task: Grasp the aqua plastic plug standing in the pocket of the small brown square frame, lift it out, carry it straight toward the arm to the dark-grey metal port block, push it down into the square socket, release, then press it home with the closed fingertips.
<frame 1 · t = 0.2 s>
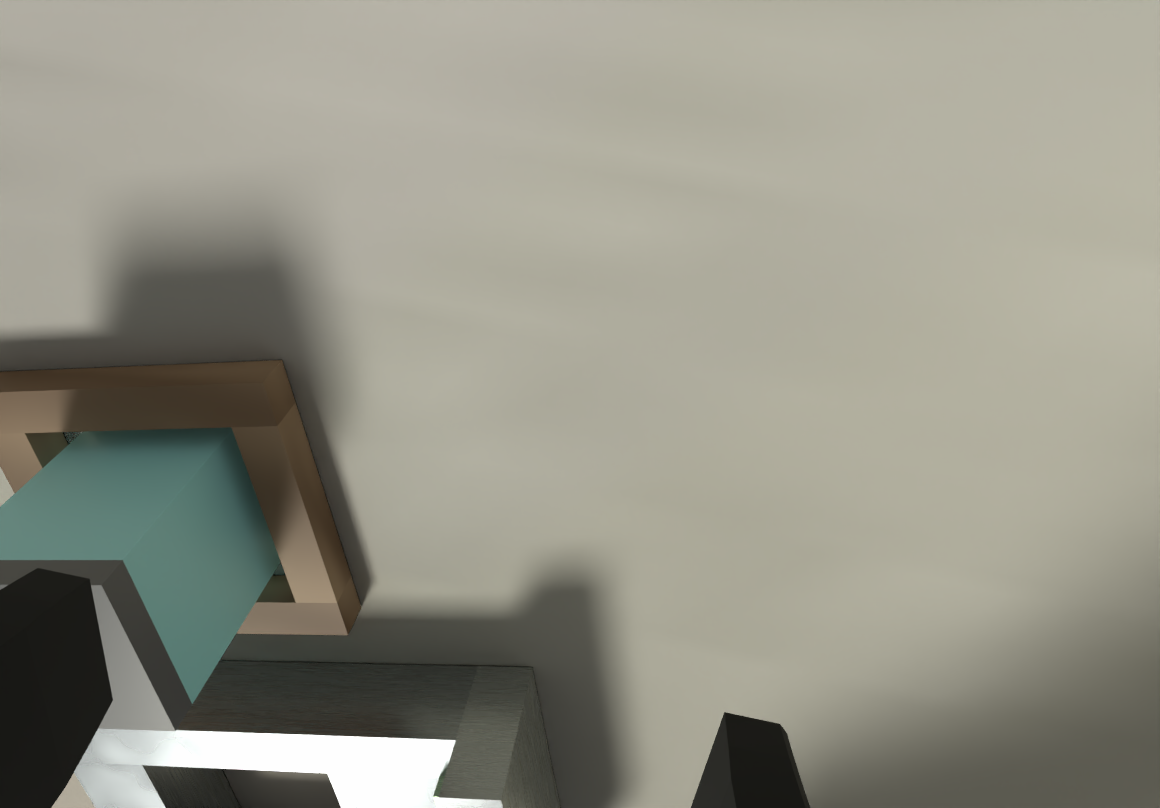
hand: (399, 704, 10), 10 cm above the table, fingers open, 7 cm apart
port: (342, 761, 28), on the table
plug: (126, 567, 20), in the brown square frame
brown square frame: (186, 496, 23), on the table
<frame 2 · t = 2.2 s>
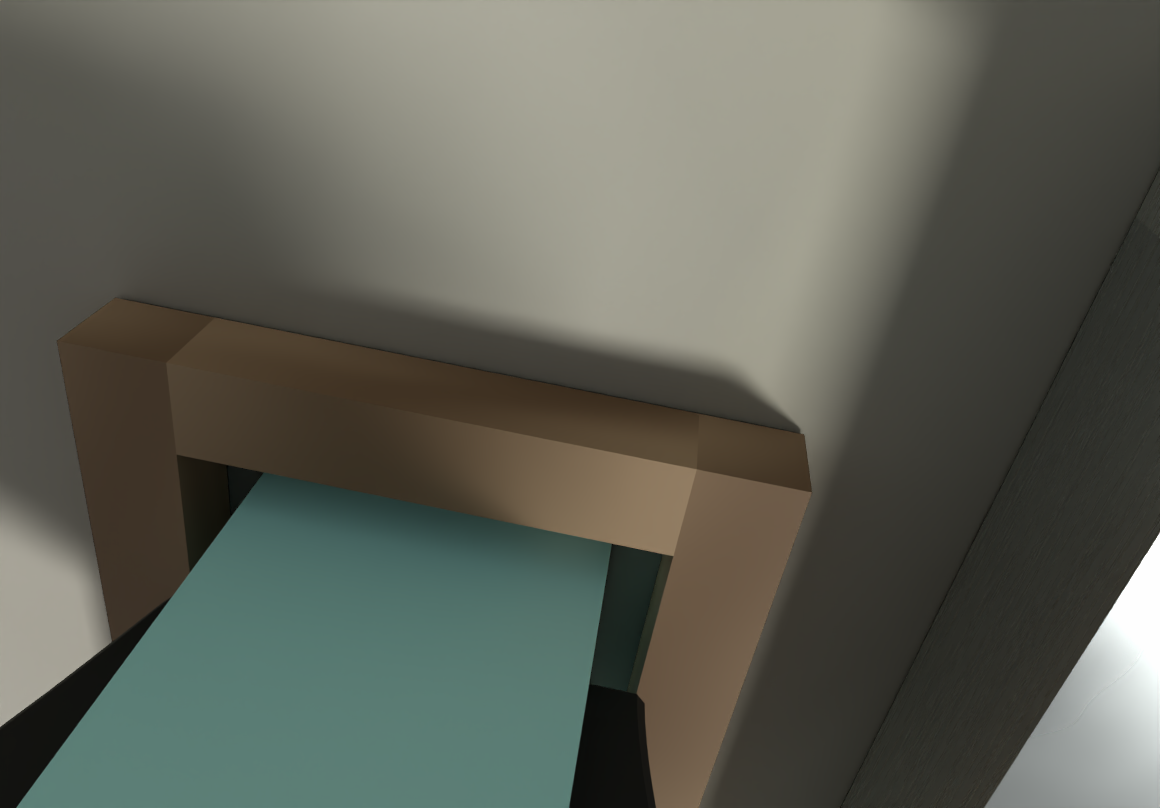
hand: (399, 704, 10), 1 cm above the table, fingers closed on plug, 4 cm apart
brown square frame: (433, 615, 12), on the table
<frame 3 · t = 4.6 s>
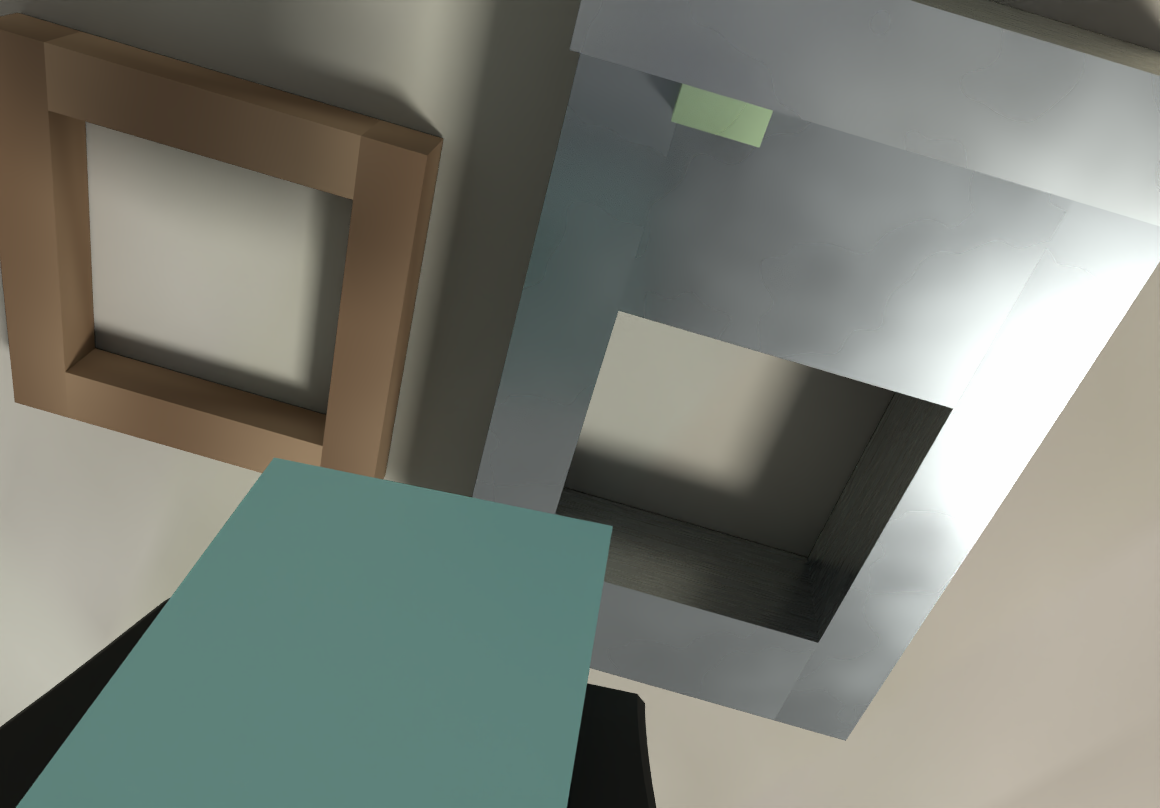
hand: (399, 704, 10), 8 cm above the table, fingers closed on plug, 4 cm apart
port: (754, 352, 17), on the table
brown square frame: (223, 271, 17), on the table
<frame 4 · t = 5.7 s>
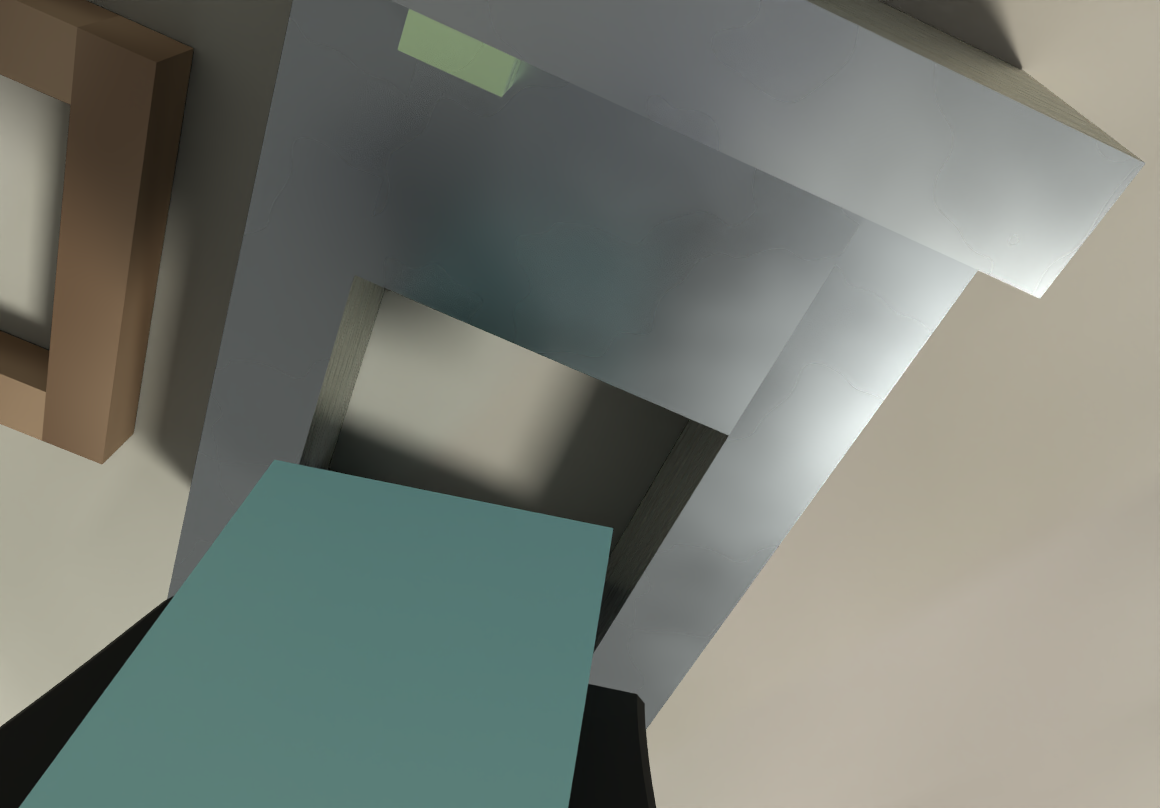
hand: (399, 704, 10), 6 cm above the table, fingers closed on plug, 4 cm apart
port: (544, 345, 15), on the table
when the fingers open (3 cm above the table, at t = 6.8 s): plug drops 2 cm, resting in port.
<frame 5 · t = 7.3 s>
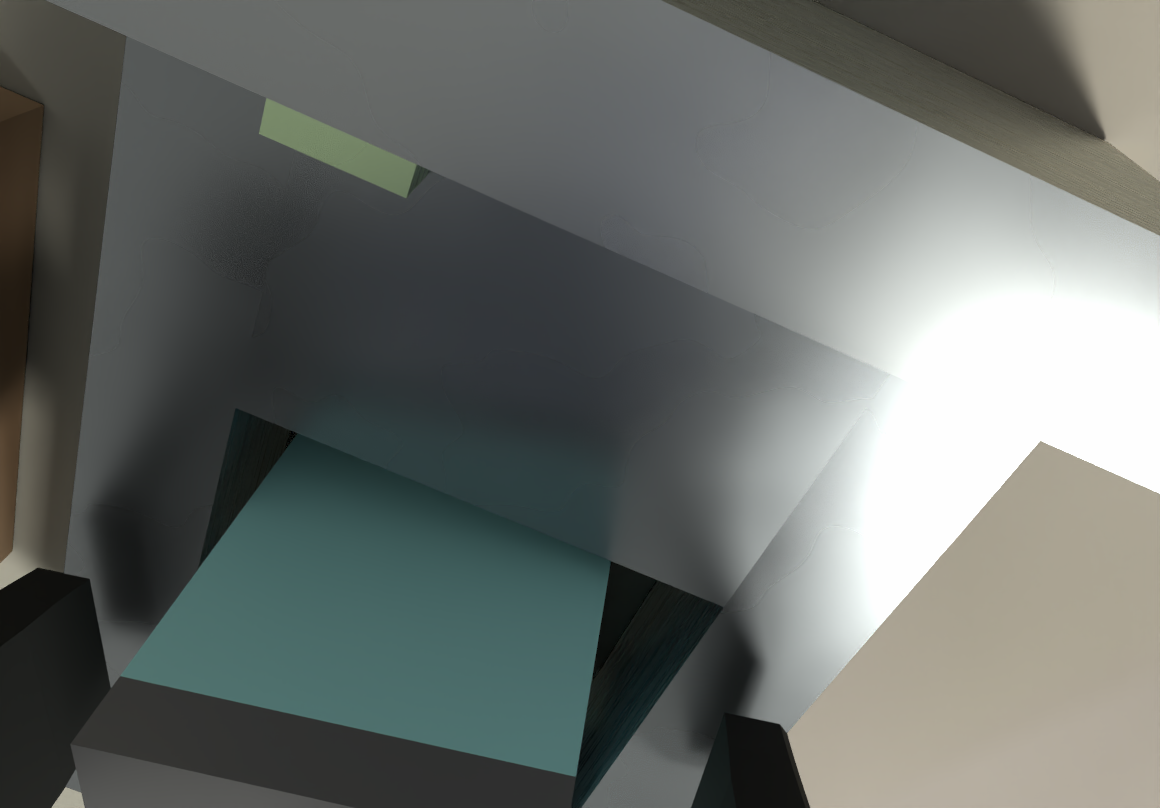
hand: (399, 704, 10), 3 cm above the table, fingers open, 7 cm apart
port: (497, 462, 12), on the table
plug: (405, 692, 11), resting in port
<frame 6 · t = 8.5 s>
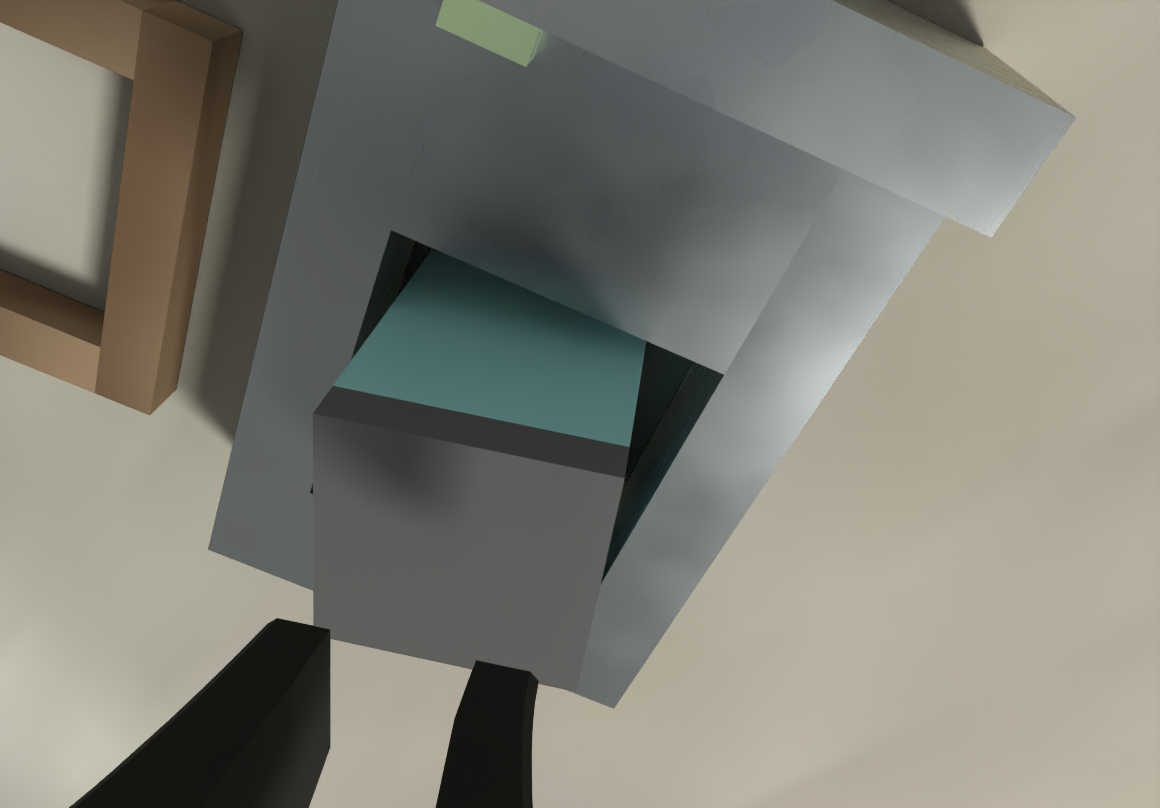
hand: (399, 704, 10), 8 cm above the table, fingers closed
port: (556, 302, 16), on the table
plug: (497, 451, 15), resting in port
brown square frame: (5, 146, 16), on the table
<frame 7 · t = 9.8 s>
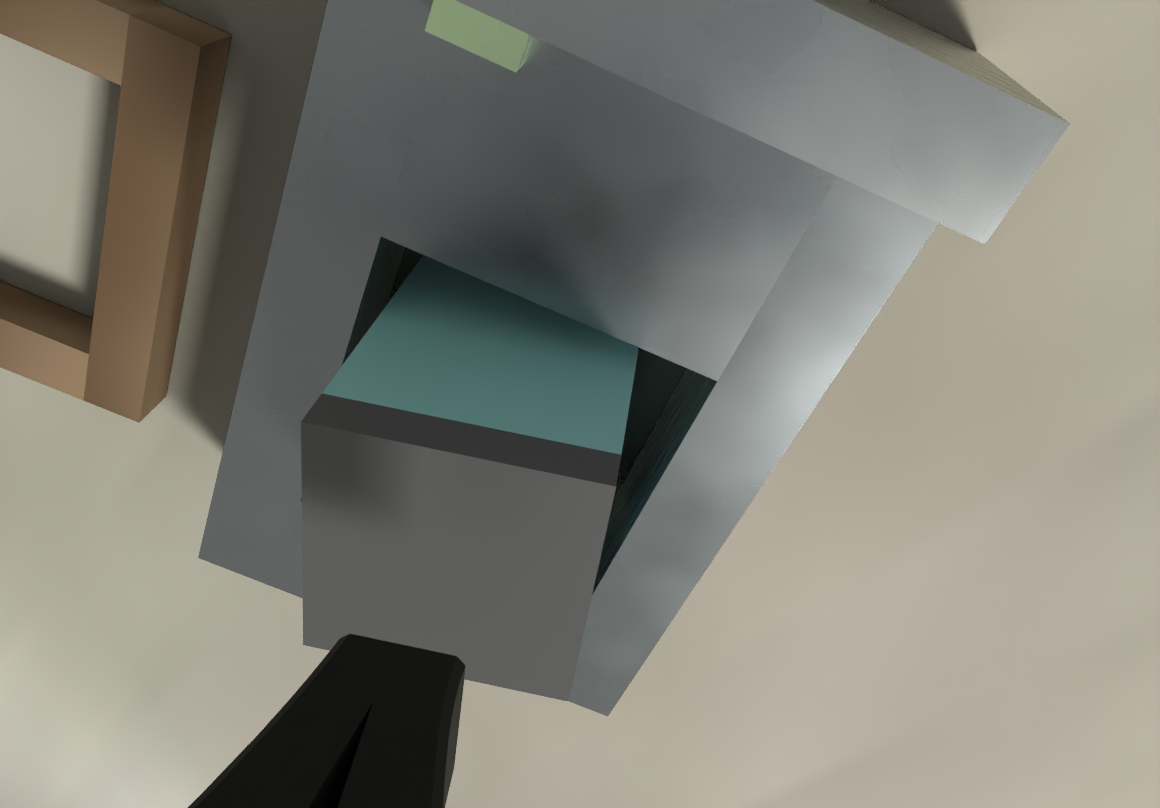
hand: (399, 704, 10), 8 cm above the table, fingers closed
port: (548, 307, 16), on the table
plug: (489, 458, 15), resting in port
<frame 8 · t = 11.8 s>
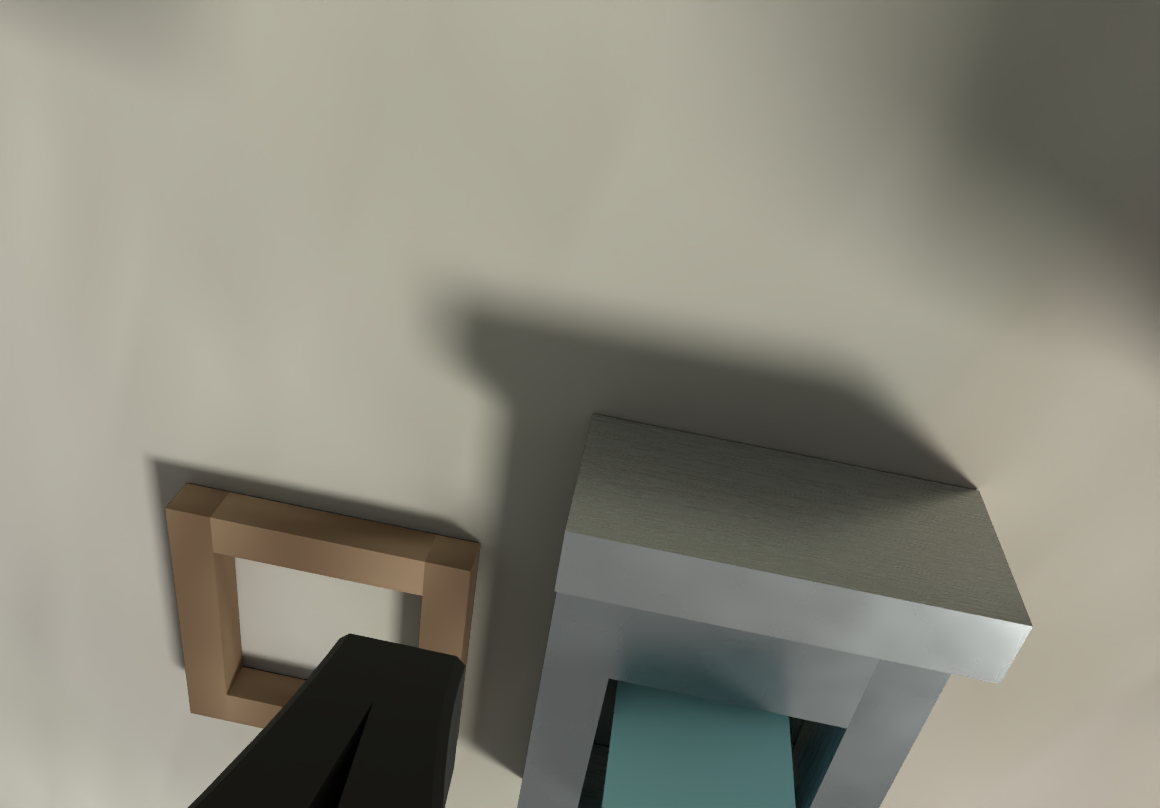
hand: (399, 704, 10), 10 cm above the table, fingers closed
port: (716, 659, 23), on the table
plug: (701, 789, 22), resting in port
brown square frame: (332, 620, 24), on the table
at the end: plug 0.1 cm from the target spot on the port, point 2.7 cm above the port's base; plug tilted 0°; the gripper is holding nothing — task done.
